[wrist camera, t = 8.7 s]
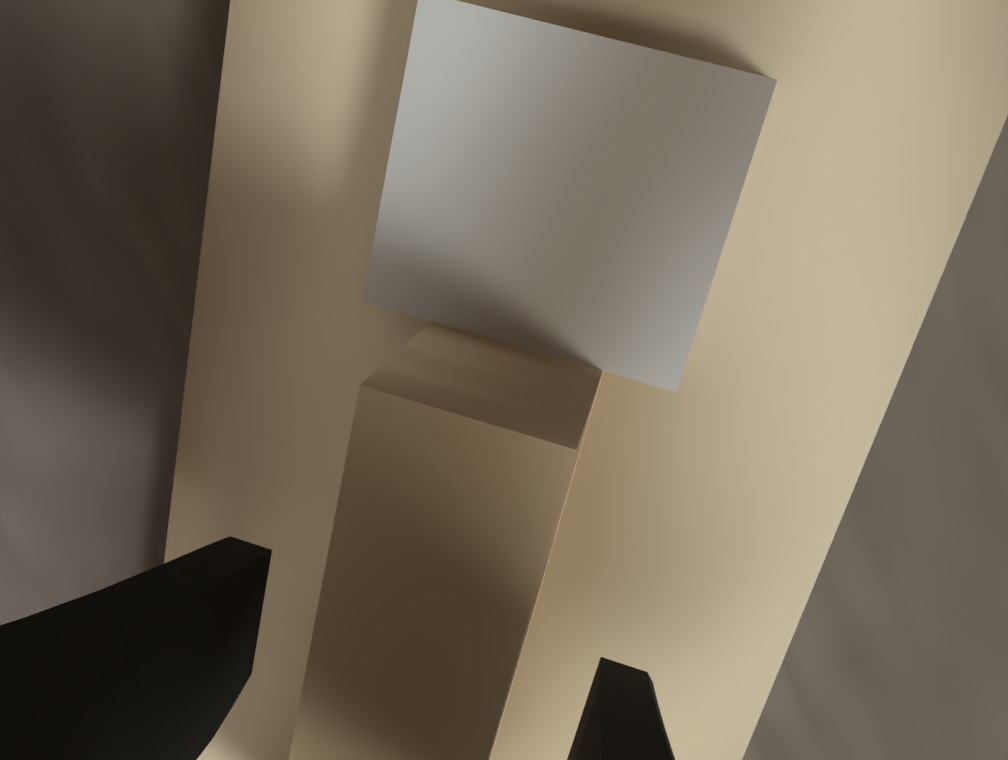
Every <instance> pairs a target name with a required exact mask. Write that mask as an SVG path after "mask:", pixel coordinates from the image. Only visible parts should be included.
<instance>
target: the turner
mask: <svg viewBox="0 0 1008 760" xmlns="http://www.w3.org/2000/svg"><path fill="white" fill-rule="evenodd" d="M776 82H777V79H773V78H769V77H765V76H761V75H757V74H753V73H749V72H745V71H741V70H737V69H733V68H729V67H725V66H721V65H717V64H713V63H709V62H704V61H700V60H696V59H692V58H688V57H684V56H680V55H676V54H672V53H668V52H664V51H660V50H656V49H652V48H648V47H644V46H639V45H635V44H631V43H627V42H623V41H619V40H615V39H611V38H607V37H603V36H599V35H595V34H591V33H587V32H583V31H579V30H574V29H570V28H566V27H562V26H558V25H554V24H550V23H546V22H542V21H538V20H534V19H530V18H526V17H522V16H518V15H514V14H510V13H505V12H501V11H497V10H493V9H489V8H485V7H481V6H477V5H473V4H469V3H465V2H461V1H457V0H418V3H417V8H416V13H415V19H414V24H413V30H412V35H411V40H410V46H409V51H408V57H407V62H406V67H405V73H404V78H403V84H402V89H401V94H400V100H399V105H398V111H397V116H396V122H395V127H394V132H393V138H392V143H391V149H390V154H389V159H388V165H387V170H386V176H385V181H384V186H383V192H382V197H381V203H380V208H379V213H378V219H377V224H376V230H375V235H374V240H373V246H372V251H371V257H370V262H369V267H368V273H367V278H366V284H365V289H364V294H363V300H362V302H366V303H369V304H373V305H376V306H380V307H383V308H386V309H390V310H393V311H397V312H400V313H404V314H407V315H411V316H414V317H418V318H421V319H425V320H428V321H431V322H430V323H429V324H428V325H427V326H426V327H425V328H424V329H422V330H421V331H420V332H419V333H418V334H417V335H416V336H415V337H413V338H412V339H411V340H410V341H409V342H408V343H407V344H406V345H404V346H403V347H402V348H401V349H400V350H399V351H398V352H396V353H395V354H394V355H393V356H392V357H391V358H390V359H389V360H387V361H386V362H385V363H384V364H383V365H382V366H381V367H380V368H378V369H377V370H376V371H375V372H374V373H373V374H372V375H371V376H369V377H368V378H367V379H366V380H365V381H364V382H363V383H362V384H360V387H359V392H358V397H357V403H356V408H355V413H354V418H353V424H352V429H351V434H350V439H349V445H348V450H347V455H346V460H345V466H344V471H343V476H342V481H341V487H340V492H339V497H338V502H337V508H336V513H335V518H334V523H333V529H332V534H331V539H330V544H329V550H328V555H327V560H326V566H325V571H324V576H323V581H322V587H321V592H320V597H319V602H318V608H317V613H316V618H315V623H314V629H313V634H312V639H311V644H310V650H309V655H308V660H307V665H306V671H305V676H304V681H303V686H302V692H301V697H300V702H299V707H298V713H297V718H296V723H295V728H294V734H293V739H292V744H291V749H290V755H289V760H491V758H492V755H493V751H494V748H495V744H496V741H497V738H498V734H499V731H500V727H501V724H502V720H503V717H504V713H505V710H506V706H507V703H508V700H509V696H510V693H511V689H512V686H513V682H514V679H515V675H516V672H517V668H518V665H519V662H520V658H521V655H522V651H523V648H524V644H525V641H526V637H527V634H528V630H529V627H530V624H531V620H532V617H533V613H534V610H535V606H536V603H537V599H538V596H539V592H540V589H541V586H542V582H543V579H544V575H545V572H546V568H547V565H548V561H549V558H550V554H551V551H552V548H553V544H554V541H555V537H556V534H557V530H558V527H559V523H560V520H561V516H562V513H563V510H564V506H565V503H566V499H567V496H568V492H569V489H570V485H571V482H572V478H573V475H574V472H575V468H576V465H577V461H578V458H579V454H580V451H581V447H582V444H583V440H584V437H585V434H586V430H587V427H588V423H589V420H590V416H591V413H592V409H593V406H594V402H595V399H596V396H597V392H598V389H599V385H600V382H601V378H602V375H603V371H605V372H608V373H611V374H615V375H618V376H622V377H625V378H629V379H632V380H636V381H639V382H643V383H646V384H650V385H653V386H656V387H660V388H663V389H667V390H670V391H674V392H677V390H678V386H679V383H680V380H681V377H682V374H683V371H684V368H685V365H686V362H687V359H688V355H689V352H690V349H691V346H692V343H693V340H694V337H695V334H696V331H697V328H698V324H699V321H700V318H701V315H702V312H703V309H704V306H705V303H706V300H707V296H708V293H709V290H710V287H711V284H712V281H713V278H714V275H715V272H716V269H717V265H718V262H719V259H720V256H721V253H722V250H723V247H724V244H725V241H726V238H727V234H728V231H729V228H730V225H731V222H732V219H733V216H734V213H735V210H736V207H737V203H738V200H739V197H740V194H741V191H742V188H743V185H744V182H745V179H746V175H747V172H748V169H749V166H750V163H751V160H752V157H753V154H754V151H755V148H756V144H757V141H758V138H759V135H760V132H761V129H762V126H763V123H764V120H765V117H766V113H767V110H768V107H769V104H770V101H771V98H772V95H773V92H774V89H775V86H776Z"/></svg>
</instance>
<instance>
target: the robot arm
mask: <svg viewBox="0 0 1008 760" xmlns="http://www.w3.org/2000/svg"><path fill="white" fill-rule="evenodd" d="M271 554H272V550H271V549H268V548H265V547H262V546H259V545H256V544H253V543H250V542H246V541H243V540H240V539H237V538H234V537H231V536H229V537H227V538H224V539H221V540H219V541H216V542H214V543H211V544H209V545H206V546H204V547H201V548H199V549H197V550H194V551H192V552H190V553H187V554H185V555H183V556H180V557H178V558H176V559H173V560H171V561H169V562H166V563H164V564H162V565H159V566H157V567H155V568H152V569H150V570H148V571H145V572H143V573H140V574H138V575H135V576H133V577H131V578H128V579H126V580H123V581H121V582H118V583H116V584H114V585H111V586H109V587H106V588H104V589H101V590H99V591H96V592H94V593H91V594H88V595H85V596H83V597H80V598H77V599H74V600H72V601H69V602H66V603H63V604H61V605H58V606H55V607H52V608H50V609H47V610H44V611H41V612H39V613H36V614H33V615H30V616H28V617H25V618H22V619H19V620H16V621H13V622H10V623H7V624H3V625H0V760H197V759H198V757H199V756H200V755H201V753H202V752H203V751H204V749H205V748H206V747H207V746H208V744H209V743H210V742H211V740H212V739H213V738H214V736H215V734H216V733H217V731H218V729H219V728H220V726H221V725H222V723H223V721H224V720H225V718H226V716H227V715H228V713H229V712H230V710H231V708H232V707H233V705H234V703H235V702H236V700H237V698H238V696H239V695H240V693H241V691H242V690H243V688H244V686H245V684H246V683H247V681H248V679H249V678H250V676H251V674H252V669H253V663H254V657H255V651H256V645H257V639H258V632H259V626H260V620H261V614H262V608H263V602H264V596H265V590H266V584H267V578H268V572H269V566H270V560H271ZM567 760H675V757H674V754H673V751H672V748H671V745H670V742H669V739H668V736H667V733H666V730H665V726H664V723H663V719H662V716H661V713H660V709H659V705H658V701H657V697H656V693H655V689H654V685H653V681H652V680H651V678H650V676H649V674H648V672H646V671H643V670H640V669H637V668H634V667H631V666H628V665H625V664H622V663H618V662H615V661H612V660H609V659H606V658H603V657H600V660H599V663H598V667H597V670H596V673H595V676H594V679H593V682H592V685H591V688H590V691H589V694H588V697H587V700H586V703H585V706H584V709H583V712H582V716H581V719H580V722H579V725H578V728H577V731H576V734H575V737H574V740H573V743H572V746H571V749H570V752H569V755H568V758H567Z"/></svg>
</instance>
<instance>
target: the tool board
mask: <svg viewBox="0 0 1008 760" xmlns="http://www.w3.org/2000/svg"><path fill="white" fill-rule="evenodd" d="M457 1H461V2H465V3H469V4H473V5H477V6H481V7H485V8H489V9H493V10H497V11H501V12H505V13H510V14H514V15H518V16H522V17H526V18H530V19H534V20H538V21H542V22H546V23H550V24H554V25H558V26H562V27H566V28H570V29H574V30H579V31H583V32H587V33H591V34H595V35H599V36H603V37H607V38H611V39H615V40H619V41H623V42H627V43H631V44H635V45H639V46H644V47H648V48H652V49H656V50H660V51H664V52H668V53H672V54H676V55H680V56H684V57H688V58H692V59H696V60H700V61H704V62H709V63H713V64H717V65H721V66H725V67H729V68H733V69H737V70H741V71H745V72H749V73H753V74H757V75H761V76H765V77H769V78H773V79H777V82H776V86H775V89H774V92H773V95H772V98H771V101H770V104H769V107H768V110H767V113H766V117H765V120H764V123H763V126H762V129H761V132H760V135H759V138H758V141H757V144H756V148H755V151H754V154H753V157H752V160H751V163H750V166H749V169H748V172H747V175H746V179H745V182H744V185H743V188H742V191H741V194H740V197H739V200H738V203H737V207H736V210H735V213H734V216H733V219H732V222H731V225H730V228H729V231H728V234H727V238H726V241H725V244H724V247H723V250H722V253H721V256H720V259H719V262H718V265H717V269H716V272H715V275H714V278H713V281H712V284H711V287H710V290H709V293H708V296H707V300H706V303H705V306H704V309H703V312H702V315H701V318H700V321H699V324H698V328H697V331H696V334H695V337H694V340H693V343H692V346H691V349H690V352H689V355H688V359H687V362H686V365H685V368H684V371H683V374H682V377H681V380H680V383H679V386H678V390H677V392H674V391H670V390H667V389H663V388H660V387H656V386H653V385H650V384H646V383H643V382H639V381H636V380H632V379H629V378H625V377H622V376H618V375H615V374H611V373H608V372H605V371H603V375H602V378H601V382H600V385H599V389H598V392H597V396H596V399H595V402H594V406H593V409H592V413H591V416H590V420H589V423H588V427H587V430H586V434H585V437H584V440H583V444H582V447H581V451H580V454H579V458H578V461H577V465H576V468H575V472H574V475H573V478H572V482H571V485H570V489H569V492H568V496H567V499H566V503H565V506H564V510H563V513H562V516H561V520H560V523H559V527H558V530H557V534H556V537H555V541H554V544H553V548H552V551H551V554H550V558H549V561H548V565H547V568H546V572H545V575H544V579H543V582H542V586H541V589H540V592H539V596H538V599H537V603H536V606H535V610H534V613H533V617H532V620H531V624H530V627H529V630H528V634H527V637H526V641H525V644H524V648H523V651H522V655H521V658H520V662H519V665H518V668H517V672H516V675H515V679H514V682H513V686H512V689H511V693H510V696H509V700H508V703H507V706H506V710H505V713H504V717H503V720H502V724H501V727H500V731H499V734H498V738H497V741H496V744H495V748H494V751H493V755H492V758H491V760H567V758H568V755H569V752H570V749H571V746H572V743H573V740H574V737H575V734H576V731H577V728H578V725H579V722H580V719H581V716H582V712H583V709H584V706H585V703H586V700H587V697H588V694H589V691H590V688H591V685H592V682H593V679H594V676H595V673H596V670H597V667H598V663H599V660H600V657H603V658H606V659H609V660H612V661H615V662H618V663H622V664H625V665H628V666H631V667H634V668H637V669H640V670H643V671H646V672H648V674H649V676H650V678H651V680H652V681H653V685H654V689H655V693H656V697H657V701H658V705H659V709H660V713H661V716H662V719H663V723H664V726H665V730H666V733H667V736H668V739H669V742H670V745H671V748H672V751H673V754H674V757H675V760H742V758H743V756H744V754H745V751H746V749H747V746H748V744H749V741H750V739H751V737H752V734H753V732H754V729H755V727H756V724H757V722H758V720H759V717H760V715H761V712H762V710H763V707H764V705H765V703H766V700H767V698H768V695H769V693H770V690H771V688H772V686H773V683H774V681H775V678H776V676H777V673H778V671H779V669H780V666H781V664H782V661H783V659H784V656H785V654H786V652H787V649H788V647H789V644H790V642H791V639H792V637H793V635H794V632H795V630H796V627H797V625H798V622H799V620H800V618H801V615H802V613H803V610H804V608H805V606H806V603H807V601H808V598H809V596H810V593H811V591H812V589H813V586H814V584H815V581H816V579H817V576H818V574H819V572H820V569H821V567H822V564H823V562H824V559H825V557H826V555H827V552H828V550H829V547H830V545H831V542H832V540H833V538H834V535H835V533H836V530H837V528H838V525H839V523H840V521H841V518H842V516H843V513H844V511H845V508H846V506H847V504H848V501H849V499H850V496H851V494H852V491H853V489H854V487H855V484H856V482H857V479H858V477H859V475H860V472H861V470H862V467H863V465H864V462H865V460H866V458H867V455H868V453H869V450H870V448H871V445H872V443H873V441H874V438H875V436H876V433H877V431H878V428H879V426H880V424H881V421H882V419H883V416H884V414H885V411H886V409H887V407H888V404H889V402H890V399H891V397H892V394H893V392H894V390H895V387H896V385H897V382H898V380H899V377H900V375H901V373H902V370H903V368H904V365H905V363H906V360H907V358H908V356H909V353H910V351H911V348H912V346H913V344H914V341H915V339H916V336H917V334H918V331H919V329H920V327H921V324H922V322H923V319H924V317H925V314H926V312H927V310H928V307H929V305H930V302H931V300H932V297H933V295H934V293H935V290H936V288H937V285H938V283H939V280H940V278H941V276H942V273H943V271H944V268H945V266H946V263H947V261H948V259H949V256H950V254H951V251H952V249H953V246H954V244H955V242H956V239H957V237H958V234H959V232H960V229H961V227H962V225H963V222H964V220H965V217H966V215H967V212H968V210H969V208H970V205H971V203H972V200H973V198H974V196H975V193H976V191H977V188H978V186H979V183H980V181H981V179H982V176H983V174H984V171H985V169H986V166H987V164H988V162H989V159H990V157H991V154H992V152H993V149H994V147H995V145H996V142H997V140H998V137H999V135H1000V132H1001V130H1002V128H1003V125H1004V123H1005V120H1006V118H1007V115H1008V0H457ZM417 3H418V0H230V8H229V16H228V24H227V33H226V41H225V50H224V58H223V67H222V75H221V84H220V92H219V101H218V109H217V118H216V126H215V135H214V143H213V151H212V160H211V168H210V177H209V185H208V194H207V202H206V211H205V219H204V228H203V236H202V245H201V253H200V261H199V270H198V278H197V287H196V295H195V304H194V312H193V321H192V329H191V338H190V346H189V355H188V363H187V371H186V380H185V388H184V397H183V405H182V414H181V422H180V431H179V439H178V448H177V456H176V465H175V473H174V481H173V490H172V498H171V507H170V515H169V524H168V532H167V541H166V549H165V558H164V563H166V562H169V561H171V560H173V559H176V558H178V557H180V556H183V555H185V554H187V553H190V552H192V551H194V550H197V549H199V548H201V547H204V546H206V545H209V544H211V543H214V542H216V541H219V540H221V539H224V538H227V537H229V536H231V537H234V538H237V539H240V540H243V541H246V542H250V543H253V544H256V545H259V546H262V547H265V548H268V549H271V550H272V554H271V560H270V566H269V572H268V578H267V584H266V590H265V596H264V602H263V608H262V614H261V620H260V626H259V632H258V639H257V645H256V651H255V657H254V663H253V669H252V674H251V676H250V678H249V679H248V681H247V683H246V684H245V686H244V688H243V690H242V691H241V693H240V695H239V696H238V698H237V700H236V702H235V703H234V705H233V707H232V708H231V710H230V712H229V713H228V715H227V716H226V718H225V720H224V721H223V723H222V725H221V726H220V728H219V729H218V731H217V733H216V734H215V736H214V738H213V739H212V740H211V742H210V743H209V744H208V746H207V747H206V748H205V749H204V751H203V752H202V753H201V755H200V756H199V757H198V759H197V760H289V755H290V749H291V744H292V739H293V734H294V728H295V723H296V718H297V713H298V707H299V702H300V697H301V692H302V686H303V681H304V676H305V671H306V665H307V660H308V655H309V650H310V644H311V639H312V634H313V629H314V623H315V618H316V613H317V608H318V602H319V597H320V592H321V587H322V581H323V576H324V571H325V566H326V560H327V555H328V550H329V544H330V539H331V534H332V529H333V523H334V518H335V513H336V508H337V502H338V497H339V492H340V487H341V481H342V476H343V471H344V466H345V460H346V455H347V450H348V445H349V439H350V434H351V429H352V424H353V418H354V413H355V408H356V403H357V397H358V392H359V387H360V384H362V383H363V382H364V381H365V380H366V379H367V378H368V377H369V376H371V375H372V374H373V373H374V372H375V371H376V370H377V369H378V368H380V367H381V366H382V365H383V364H384V363H385V362H386V361H387V360H389V359H390V358H391V357H392V356H393V355H394V354H395V353H396V352H398V351H399V350H400V349H401V348H402V347H403V346H404V345H406V344H407V343H408V342H409V341H410V340H411V339H412V338H413V337H415V336H416V335H417V334H418V333H419V332H420V331H421V330H422V329H424V328H425V327H426V326H427V325H428V324H429V323H430V322H431V321H428V320H425V319H421V318H418V317H414V316H411V315H407V314H404V313H400V312H397V311H393V310H390V309H386V308H383V307H380V306H376V305H373V304H369V303H366V302H362V300H363V294H364V289H365V284H366V278H367V273H368V267H369V262H370V257H371V251H372V246H373V240H374V235H375V230H376V224H377V219H378V213H379V208H380V203H381V197H382V192H383V186H384V181H385V176H386V170H387V165H388V159H389V154H390V149H391V143H392V138H393V132H394V127H395V122H396V116H397V111H398V105H399V100H400V94H401V89H402V84H403V78H404V73H405V67H406V62H407V57H408V51H409V46H410V40H411V35H412V30H413V24H414V19H415V13H416V8H417Z"/></svg>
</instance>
